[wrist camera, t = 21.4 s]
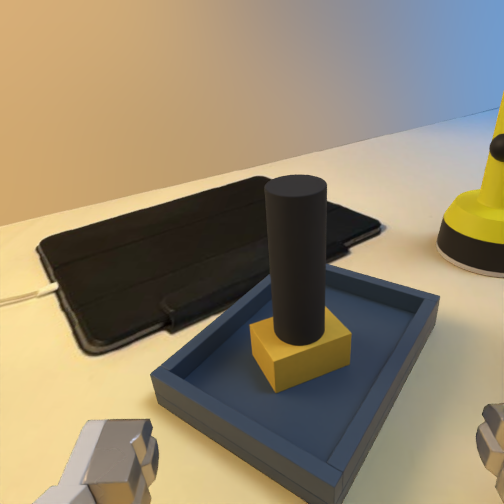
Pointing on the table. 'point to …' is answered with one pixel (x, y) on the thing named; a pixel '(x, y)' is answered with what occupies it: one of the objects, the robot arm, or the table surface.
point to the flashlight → (479, 217)
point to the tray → (302, 384)
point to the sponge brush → (298, 288)
